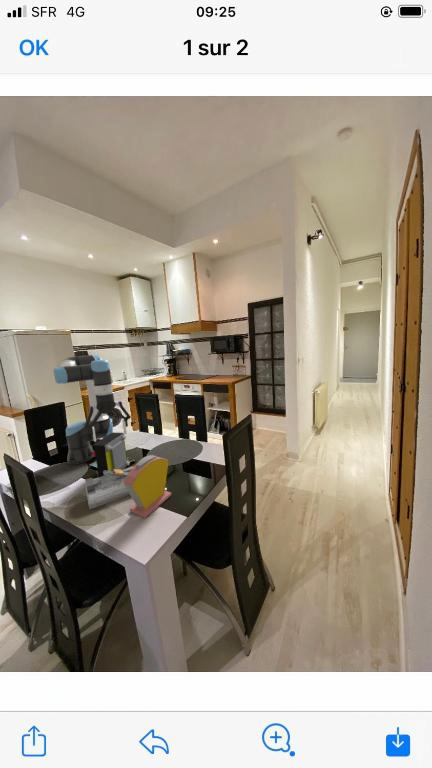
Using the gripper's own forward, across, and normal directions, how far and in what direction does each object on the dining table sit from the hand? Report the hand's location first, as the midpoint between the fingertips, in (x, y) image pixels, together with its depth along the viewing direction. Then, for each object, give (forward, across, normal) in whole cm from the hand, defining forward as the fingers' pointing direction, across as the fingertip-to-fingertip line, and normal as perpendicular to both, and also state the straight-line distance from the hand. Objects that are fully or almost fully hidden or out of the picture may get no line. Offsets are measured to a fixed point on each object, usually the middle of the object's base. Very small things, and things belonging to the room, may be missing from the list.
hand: (110, 437), depth 118 cm
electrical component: (+27, +2, +18) cm, 33 cm away
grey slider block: (+23, -10, -2) cm, 25 cm away
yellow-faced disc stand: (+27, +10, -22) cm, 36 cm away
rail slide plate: (+27, -1, -2) cm, 27 cm away
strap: (+19, +1, -2) cm, 20 cm away
